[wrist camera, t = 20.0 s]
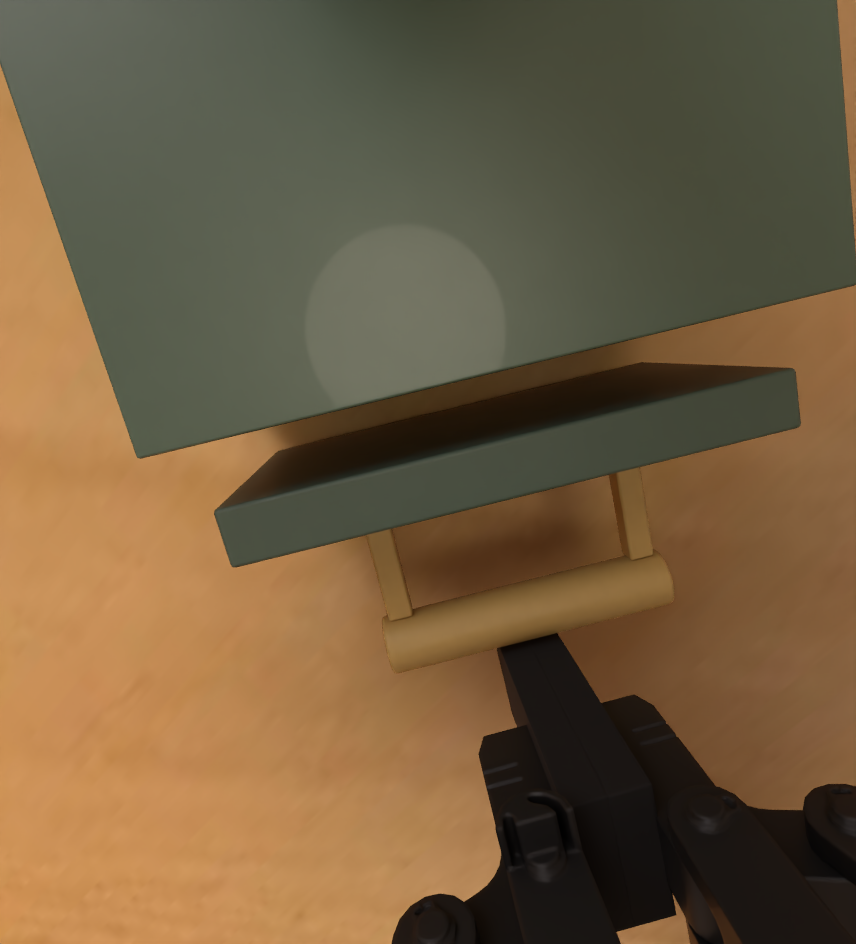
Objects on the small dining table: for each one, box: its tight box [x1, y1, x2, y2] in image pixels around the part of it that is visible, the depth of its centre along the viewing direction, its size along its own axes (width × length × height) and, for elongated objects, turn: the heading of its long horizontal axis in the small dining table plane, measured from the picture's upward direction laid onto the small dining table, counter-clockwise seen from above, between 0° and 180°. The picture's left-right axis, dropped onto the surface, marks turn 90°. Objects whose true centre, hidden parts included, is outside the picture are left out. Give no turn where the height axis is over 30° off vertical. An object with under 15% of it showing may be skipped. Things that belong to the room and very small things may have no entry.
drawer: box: [214, 362, 801, 674], centre depth 14 cm, size 19×11×7 cm, turn 13°
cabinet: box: [0, 0, 856, 459], centre depth 13 cm, size 16×13×9 cm
